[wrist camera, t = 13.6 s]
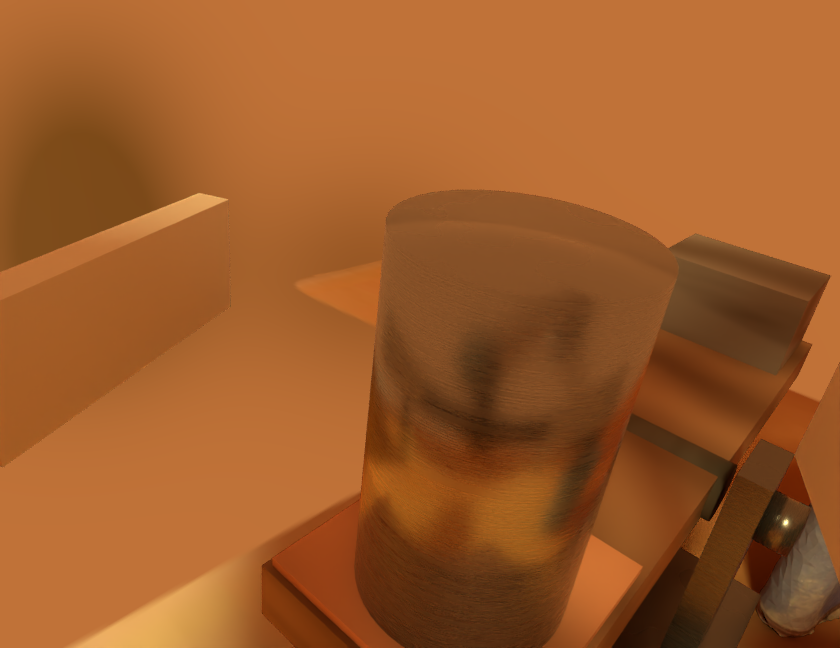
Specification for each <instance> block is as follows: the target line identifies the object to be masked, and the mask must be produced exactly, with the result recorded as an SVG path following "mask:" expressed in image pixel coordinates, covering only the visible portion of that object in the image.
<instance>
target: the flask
mask: <svg viewBox="0 0 840 648" xmlns="http://www.w3.org/2000/svg"><path fill="white" fill-rule="evenodd" d="M809 507H811V508H812V509H811V511H810V513H809V516H808V518H807V520H806V522H805V524H804V526H803V528H802V530H801V532H800V534H799V536H798V538H797V540H796V542H795V543H794V545H793V547H792V549H791V551H790V553H789V555H788V556H787V558H786V557H784V556H781V558H780V559H779V561H778V562H777V564H776V565H775V568H774V570H773V572H772V574H771V576H770V578H769V580H768V581H767V583H766V585H765V586H764V588H763V589H762V590H761V591H760V595H761V597H760V599H759V601H758V604H757V608H756V611H757V612H758V615H759V617H760V618H761V620H762V621H763V622H764V623H765V624H767V625H769V626H770V627H773V629H774V630H775V631H777V633H778V634H779V636H782V637H786V636H793V637H796V636H799V637H800V636H804V635H807V634H812V633H813V632H814V628H815V626H816V625H818V624H820V623H822V622H825V621H827V620H829V621H832V620H833V619H835V618H837V619H839V616H840V584H839V581H838V578H837V575H836V572H835V569H834V566H833V564H832V561H831V558H830V555H829V552H828V549H827V546H826V544H825V541H824V538H823V535H822V532H821V529H820V527H819V524H818V521H817V518H816V515H815V512H814V509H813V507H812V504H811V503H810V505H809ZM761 609H762V611H763V613H764V616H765V618H766V620H767V622H768V623H767V622H766V621H765V619H764V618H763V615H762V611H761Z"/></svg>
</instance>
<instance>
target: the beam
mask: <svg viewBox="0 0 840 648" xmlns="http://www.w3.org/2000/svg"><path fill="white" fill-rule="evenodd" d="M668 249H669V250H670V251H671V252H672V254H673V255H674V257H675V258H676V260H677V263H678V266H679V270H678V276H677V279H676V282H675V285H674V288H673V291H672V294H671V297H670V300H669V303H668V306H667V309H666V312H665V315H664V318H663V321H662V324H661V327H660V330H659V333H658V336H657V339H656V342H655V345H654V348H653V351H652V354H651V357H650V360H649V363H648V366H647V369H646V372H645V375H644V378H643V381H642V384H641V387H640V390H639V393H638V395H637V398H636V401H635V404H634V407H633V410H632V413H631V416H630V419H629V422H628V425H627V428H626V431H625V434H624V437H623V440H622V443H621V446H620V449H619V452H618V455H617V458H616V461H615V464H614V467H613V470H612V473H611V476H610V479H609V482H608V485H607V488H606V491H605V494H604V497H603V500H602V503H601V506H600V509H599V512H598V515H597V518H596V521H595V524H594V527H593V530H592V533H591V536H590V539H589V542H588V545H587V548H586V551H585V554H584V557H583V560H582V563H581V566H580V569H579V572H578V575H577V578H576V581H575V584H574V587H573V590H572V593H571V596H570V598H569V601H568V604H567V607H566V610H565V613H564V616H563V618H562V621H561V623H560V626H559V627H558V629H557V630H556V632H555V633H554V635H553V636H552V637H551V638H550V640H549V641H548V642H547V643H546V644H545V645H544V646H543V647H541V648H611V647H612V646H613V644H614V643H615V641H616V640H617V638H618V637H619V635H620V634H621V633H622V631H623V630H624V628H625V627H626V625H627V624H628V622H629V621H630V619H631V618H632V617H633V615H634V614H635V612H636V611H637V609H638V608H639V606H640V605H641V603H642V602H643V601H644V599H645V598H646V596H647V595H648V593H649V592H650V590H651V589H652V587H653V586H654V585H655V583H656V582H657V580H658V579H659V577H660V576H661V574H662V573H663V571H664V570H665V568H666V567H667V566H668V564H669V563H670V561H671V560H672V558H673V557H674V555H675V554H676V552H677V551H678V550H679V548H680V547H681V545H682V544H683V542H684V541H685V539H686V538H687V536H688V535H689V534H690V532H691V531H692V529H693V528H694V526H695V525H696V523H697V522H698V520H699V519H700V518H703V519H705V520H707V521H710V520H711V518H712V517H713V515H714V514H715V512H716V510H717V509H718V507H719V505H720V503H721V501H722V500H723V498H724V496H725V494H726V492H727V490H728V488H729V486H730V484H731V481H732V479H733V477H734V474H735V472H736V469H737V464H738V462H739V461H740V459H741V458H742V456H743V455H744V453H745V452H746V451H747V449H748V448H749V446H750V445H751V443H752V442H753V440H754V439H755V437H756V436H757V434H758V433H759V432H760V430H761V429H762V427H763V426H764V424H765V423H766V421H767V420H768V418H769V417H770V416H771V414H772V413H773V411H774V410H775V408H776V407H777V405H778V404H779V402H780V401H781V400H782V398H783V397H784V395H785V394H786V392H787V391H788V389H789V388H790V386H791V385H792V384H793V382H794V381H795V379H796V378H797V376H798V374H799V372H800V370H801V368H802V366H803V364H804V361H805V359H806V357H807V355H808V353H809V350H810V348H811V346H812V344H810V343H807V342H804V341H802V338H803V336H804V334H805V332H806V330H807V327H808V325H809V323H810V321H811V318H812V316H813V314H814V312H815V310H816V307H817V305H818V303H819V301H820V298H821V296H822V294H823V292H824V290H825V287H826V285H827V283H828V280H829V278H830V275H827V274H824V273H821V272H817V271H814V270H811V269H808V268H805V267H801V266H798V265H795V264H792V263H789V262H786V261H782V260H779V259H776V258H773V257H769V256H766V255H763V254H760V253H757V252H753V251H750V250H747V249H744V248H740V247H737V246H734V245H731V244H727V243H725V242H721V241H718V240H715V239H712V238H709V237H705V236H702V235H699V234H694V235H692V236H690V237H688V238H686V239H684V240H683V241H681V242H679V243H677V244H676V245H674V246H672V247H670V248H668ZM359 508H360V500H358V501H357V502H355V503H354V504H352V505H351V506H349V507H348V508H346V509H345V510H343V511H342V512H340V513H339V514H337V515H336V516H334V517H333V518H331V519H330V520H328V521H327V522H325V523H324V524H322V525H321V526H319V527H318V528H316V529H315V530H313V531H312V532H310V533H309V534H307V535H306V536H304V537H303V538H301V539H300V540H298V541H297V542H295V543H294V544H292V545H291V546H289V547H288V548H286V549H285V550H283V551H282V552H280V553H279V554H277V555H276V556H275V557H273V558H272V559H271V560H269V561H268V562H266V563H265V564H263V565H262V614H263V615H264V616H265V617H266V618H267V619H268V620H269V621H270V622H271V623H272V624H273V625H274V626H275V627H276V628H277V629H278V630H279V631H280V632H281V633H282V634H283V635H284V636H285V637H286V638H287V639H288V640H289V641H290V642H291V643H292V644H293V645H294V646H295V647H296V648H404V647H403V646H401V645H400V644H399V643H397V642H396V641H395V640H393V639H392V638H391V637H389V636H388V635H387V634H386V633H385V632H384V631H383V630H382V629H381V628H380V627H379V626H378V624H377V623H376V622H375V621H374V619H373V618H372V617H371V616H370V614H369V612H368V611H367V609H366V607H365V606H364V604H363V602H362V599H361V597H360V594H359V592H358V589H357V584H356V580H355V571H354V563H355V552H356V541H357V530H358V519H359Z"/></svg>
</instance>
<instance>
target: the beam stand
mask: <svg viewBox="0 0 840 648" xmlns="http://www.w3.org/2000/svg"><path fill="white" fill-rule="evenodd" d="M793 457H794V454H793V453H791V452H789V451H787V450H784V449H782V448H780V447H778V446H776V445H773V444H771V443H769V442H767V441H765V440H763V439H761V440H760V441H759V443H758V444H757V446H756V447H755V449H754V450H753V452H752V453H751V455H750V456H749V458H748V459H747V461H746V462H745V463H744V465H743V466H742V468H741V469H740V471H739V472H738V474H737V476H736V478H735V480H734V483H733V485H732V487H731V489H730V492H729V494H728V496H727V498H726V501H725V503H724V505H723V507H722V510H721V512H720V514H719V516H718V518H717V521H716V523H715V525H714V527H713V530H712V532H711V534H710V536H709V539H708V541H707V543H706V545H705V548H704V550H703V552H702V554H701V556H700V559H699V558H697V557H695V556H694V555H692V554H690V553H689V552H687V551H685V550H684V549H682V548H679V550H678V551H677V552H676V554H675V555H674V557H673V558H672V560H671V561H670V563H669V564H668V566H667V567H666V568H665V570H664V571H663V573H662V574H661V576H660V577H659V579H658V580H657V582H656V583H655V585H654V586H653V587H652V589H651V590H650V592H649V593H648V595H647V596H646V598H645V599H644V601H643V602H642V603H641V605H640V606H639V608H638V609H637V611H636V612H635V614H634V615H633V617H632V618H631V619H630V621H629V622H628V624H627V625H626V627H625V628H624V630H623V631H622V633H621V634H620V635H619V637H618V638H617V640H616V641H615V643H614V644H613V646H612V647H611V648H737V646H738V644H739V642H740V639H741V637H742V635H743V633H744V631H745V629H746V627H747V625H748V623H749V620H750V618H751V616H752V614H753V612H754V610H755V608H756V606H757V604H758V601H759V599H760V597H761V595H760V594H758V593H757V592H755V591H753V590H752V589H750V588H748V587H746V586H745V585H743V584H741V583H740V582H738V581H736V580H735V579H734V577H735V575H736V573H737V571H738V569H739V567H740V565H741V563H742V561H743V559H744V557H745V555H746V553H747V551H748V549H749V547H750V545H751V543H752V540H754V541H756V542H758V543H760V544H762V545H764V546H765V547H767V548H769V549H771V550H773V551H775V552H776V553H778V554H780V555H782V556H784V557H786V558H787V556H788V555H789V553H790V551H791V549H792V547H793V545H794V543H795V542H796V540H797V538H798V536H799V534H800V532H801V530H802V528H803V526H804V524H805V522H806V520H807V518H808V516H809V513H810V511H811V509H812V508H811V507H809V506H807V505H805V504H803V503H801V502H799V501H797V500H795V499H793V498H791V497H789V496H787V495H785V494H783V493H781V492H779V491H777V490H778V488H779V486H780V484H781V481H782V479H783V477H784V475H785V473H786V471H787V469H788V467H789V465H790V463H791V461H792V459H793Z"/></svg>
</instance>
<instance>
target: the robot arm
mask: <svg viewBox="0 0 840 648" xmlns="http://www.w3.org/2000/svg"><path fill="white" fill-rule="evenodd" d="M230 306H231V299H230V249H229V200H228V199H224V198H219V197H215V196H210V195H206V194H202V193H198V194H196V195H193V196H191V197H188V198H186V199H183V200H181V201H178V202H176V203H173V204H170V205H168V206H165V207H163V208H160V209H158V210H155V211H153V212H151V213H148V214H145V215H143V216H140V217H138V218H135V219H133V220H130V221H128V222H125V223H123V224H120V225H118V226H115V227H113V228H110V229H108V230H105V231H103V232H100V233H98V234H95V235H93V236H90V237H88V238H85V239H83V240H80V241H78V242H75V243H72V244H70V245H67V246H65V247H62V248H60V249H57V250H55V251H52V252H50V253H47V254H45V255H42V256H40V257H37V258H35V259H32V260H30V261H27V262H25V263H22V264H20V265H17V266H15V267H12V268H10V269H7V270H5V271H2V272H0V467H4V466H5V465H7V464H8V463H10V462H11V461H13V460H14V459H15V458H16V457H18V456H20V455H21V454H22V453H24V452H25V451H27V450H28V449H29V448H31V447H32V446H34V445H35V444H36V443H38V442H39V441H41V440H42V439H44V438H45V437H47V436H48V435H49V434H51V433H52V432H54V431H55V430H56V429H58V428H59V427H60V426H62V425H64V424H65V423H66V422H68V421H69V420H71V419H72V418H73V417H75V416H76V415H78V414H79V413H80V412H82V411H83V410H85V409H86V408H87V407H89V406H90V405H92V404H93V403H95V402H96V401H98V400H99V399H100V398H102V397H103V396H105V395H106V394H107V393H109V392H110V391H112V390H113V389H115V388H116V387H117V386H119V385H120V384H122V383H123V382H124V381H126V380H127V379H129V378H130V377H132V376H133V375H134V374H136V373H137V372H139V371H140V370H141V369H143V368H144V367H146V366H147V365H149V364H150V363H151V362H153V361H154V360H156V359H157V358H158V357H160V356H161V355H163V354H164V353H165V352H167V351H168V350H170V349H171V348H173V347H174V346H175V345H177V344H178V343H180V342H181V341H182V340H184V339H185V338H187V337H188V336H190V335H191V334H192V333H194V332H195V331H197V330H198V329H200V328H201V327H202V326H204V325H205V324H207V323H208V322H210V321H211V320H212V319H214V318H215V317H217V316H218V315H219V314H221V313H222V312H224V311H225V310H226V309H228V308H229V307H230ZM794 455H795V458H796V461H797V464H798V467H799V470H800V472H801V475H802V478H803V481H804V484H805V487H806V490H807V492H808V495H809V498H810V501H811V504H812V507H813V509H814V512H815V515H816V518H817V521H818V524H819V527H820V529H821V532H822V535H823V538H824V541H825V544H826V546H827V549H828V552H829V555H830V558H831V561H832V564H833V566H834V569H835V572H836V575H837V578H838V581H839V584H840V363H839V365H838V367H837V369H836V371H835V373H834V375H833V377H832V379H831V381H830V383H829V385H828V387H827V390H826V391H825V393H824V395H823V398H822V399H821V401H820V404H819V406H818V408H817V410H816V412H815V414H814V416H813V418H812V420H811V422H810V424H809V426H808V428H807V430H806V432H805V434H804V436H803V438H802V440H801V442H800V444H799V446H798V448H797V450H796V452H795V454H794Z"/></svg>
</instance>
